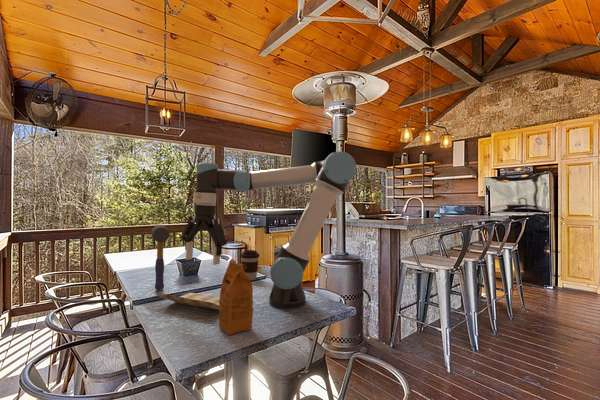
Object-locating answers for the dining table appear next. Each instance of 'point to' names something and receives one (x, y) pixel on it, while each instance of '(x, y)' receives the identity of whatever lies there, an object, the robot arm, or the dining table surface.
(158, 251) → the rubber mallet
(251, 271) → the coffee cup
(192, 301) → the plank
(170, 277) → the dining table surface
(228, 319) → the coffee package
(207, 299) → the wooden board
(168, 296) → the plank
